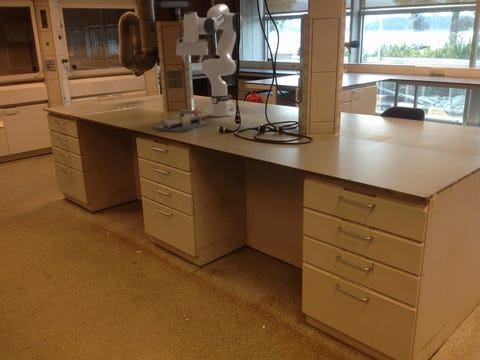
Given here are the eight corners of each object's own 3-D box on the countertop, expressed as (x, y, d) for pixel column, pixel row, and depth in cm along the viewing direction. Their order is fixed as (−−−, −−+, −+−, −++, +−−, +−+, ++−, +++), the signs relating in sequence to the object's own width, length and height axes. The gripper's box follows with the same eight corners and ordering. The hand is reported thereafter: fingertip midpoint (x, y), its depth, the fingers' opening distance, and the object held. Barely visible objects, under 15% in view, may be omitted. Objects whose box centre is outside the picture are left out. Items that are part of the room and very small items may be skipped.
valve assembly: (187, 121, 300) (186, 110, 298) (211, 124, 287) (211, 113, 285) (152, 128, 278) (151, 117, 276) (178, 132, 265) (177, 120, 263)
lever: (177, 115, 280) (177, 109, 279) (182, 114, 283) (181, 108, 282) (197, 117, 270) (197, 111, 269) (201, 116, 273) (201, 110, 272)
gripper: (209, 39, 275) (210, 62, 279) (178, 40, 281) (179, 62, 285) (205, 39, 270) (206, 63, 274) (174, 40, 275) (175, 63, 279)
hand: (192, 63), depth 279 cm, fingers open, 8 cm apart
